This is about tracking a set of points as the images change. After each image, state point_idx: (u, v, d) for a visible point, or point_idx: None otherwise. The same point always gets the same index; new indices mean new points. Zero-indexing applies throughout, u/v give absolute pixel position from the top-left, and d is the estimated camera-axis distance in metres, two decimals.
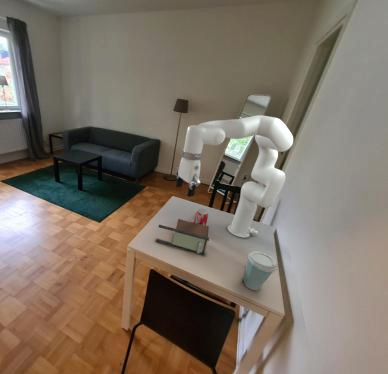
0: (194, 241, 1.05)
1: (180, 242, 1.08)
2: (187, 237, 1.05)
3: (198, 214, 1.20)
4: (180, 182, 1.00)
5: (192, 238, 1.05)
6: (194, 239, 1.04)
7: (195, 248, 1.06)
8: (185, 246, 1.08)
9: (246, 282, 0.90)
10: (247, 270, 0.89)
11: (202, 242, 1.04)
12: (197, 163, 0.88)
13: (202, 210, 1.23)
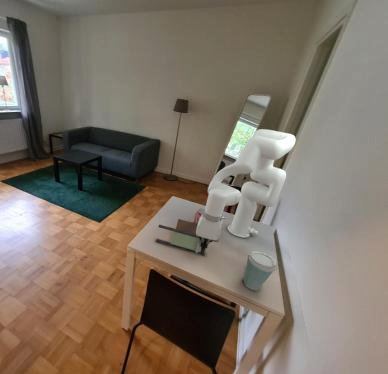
0: (192, 241, 1.05)
1: (179, 241, 1.08)
2: (186, 236, 1.05)
3: (198, 214, 1.20)
4: None
5: (190, 238, 1.05)
6: (192, 239, 1.05)
7: (193, 248, 1.06)
8: (183, 246, 1.08)
9: (246, 282, 0.90)
10: (247, 270, 0.89)
11: (200, 242, 1.04)
12: (221, 221, 0.94)
13: (202, 210, 1.23)
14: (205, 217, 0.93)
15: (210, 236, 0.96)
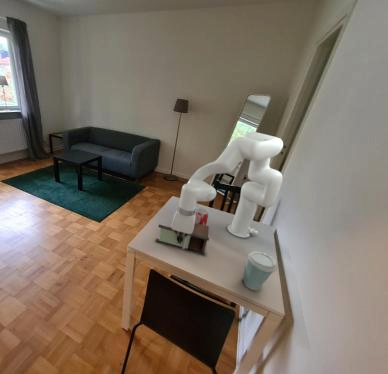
0: None
1: (167, 238, 1.09)
2: (173, 233, 1.07)
3: (198, 214, 1.20)
4: None
5: None
6: None
7: (181, 244, 1.08)
8: (171, 242, 1.09)
9: (246, 282, 0.90)
10: (247, 270, 0.89)
11: (187, 238, 1.05)
12: (195, 215, 0.97)
13: (202, 210, 1.23)
14: (179, 211, 0.96)
15: (184, 230, 0.99)
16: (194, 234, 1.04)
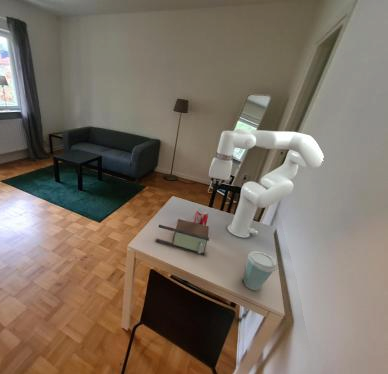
0: (195, 241, 1.05)
1: (181, 242, 1.07)
2: (189, 237, 1.05)
3: (198, 214, 1.20)
4: None
5: (193, 238, 1.04)
6: (195, 239, 1.04)
7: (196, 248, 1.06)
8: (186, 246, 1.08)
9: (246, 282, 0.90)
10: (247, 270, 0.89)
11: (203, 242, 1.03)
12: None
13: (202, 210, 1.23)
14: (217, 157, 1.03)
15: (222, 176, 1.06)
16: (194, 234, 1.04)
